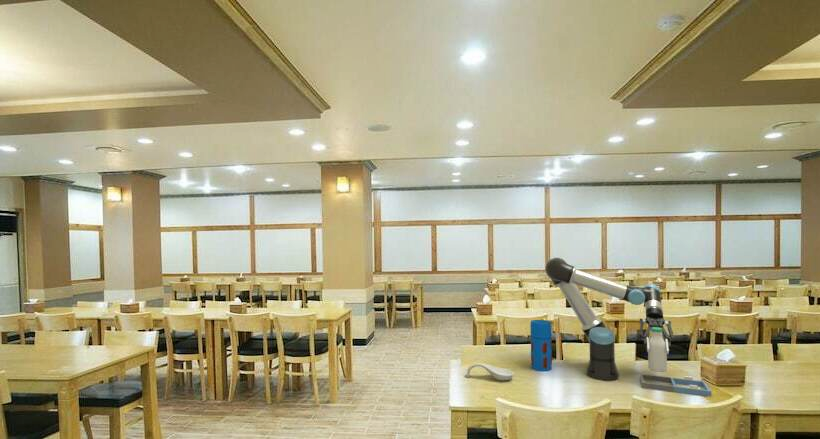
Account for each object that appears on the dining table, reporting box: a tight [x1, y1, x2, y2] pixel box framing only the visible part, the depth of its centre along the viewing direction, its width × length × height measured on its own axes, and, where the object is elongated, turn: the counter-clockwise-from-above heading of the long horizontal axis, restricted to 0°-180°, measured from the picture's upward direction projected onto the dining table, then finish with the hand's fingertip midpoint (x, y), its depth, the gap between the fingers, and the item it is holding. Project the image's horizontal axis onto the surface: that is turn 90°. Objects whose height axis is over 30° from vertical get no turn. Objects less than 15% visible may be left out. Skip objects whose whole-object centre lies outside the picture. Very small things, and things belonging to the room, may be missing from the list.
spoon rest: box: [466, 362, 515, 382], centre depth 212 cm, size 24×12×7 cm, turn 79°
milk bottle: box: [647, 327, 668, 373], centre depth 201 cm, size 8×8×20 cm
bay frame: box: [639, 373, 712, 397], centre depth 198 cm, size 27×14×4 cm, turn 65°
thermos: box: [529, 319, 553, 372], centre depth 227 cm, size 11×11×25 cm
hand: (657, 351), depth 198 cm, fingers closed on milk bottle, 7 cm apart
